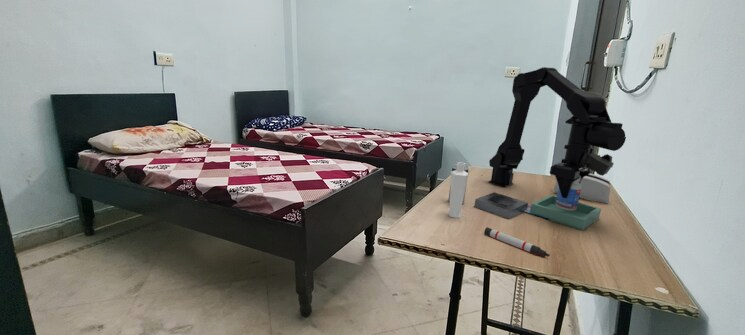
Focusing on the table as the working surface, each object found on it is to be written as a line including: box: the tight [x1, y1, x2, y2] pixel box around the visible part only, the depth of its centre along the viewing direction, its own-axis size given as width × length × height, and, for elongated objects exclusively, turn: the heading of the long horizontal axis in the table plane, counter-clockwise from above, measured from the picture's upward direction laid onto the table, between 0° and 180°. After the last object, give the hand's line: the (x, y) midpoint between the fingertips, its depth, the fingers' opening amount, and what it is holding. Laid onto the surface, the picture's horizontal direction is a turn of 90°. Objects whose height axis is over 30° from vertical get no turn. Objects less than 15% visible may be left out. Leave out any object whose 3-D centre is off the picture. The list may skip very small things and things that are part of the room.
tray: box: [530, 194, 602, 231], centre depth 100 cm, size 14×14×3 cm
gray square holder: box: [474, 191, 529, 220], centre depth 103 cm, size 11×11×2 cm
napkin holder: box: [552, 173, 611, 204], centre depth 117 cm, size 17×5×10 cm, turn 57°
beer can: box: [448, 162, 469, 204], centre depth 105 cm, size 5×5×12 cm
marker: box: [483, 227, 551, 258], centre depth 81 cm, size 15×2×2 cm, turn 43°
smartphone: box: [500, 204, 550, 221], centre depth 104 cm, size 8×1×15 cm
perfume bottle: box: [447, 161, 469, 219], centre depth 94 cm, size 5×4×15 cm
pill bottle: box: [556, 176, 581, 210], centre depth 99 cm, size 6×5×10 cm
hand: (568, 195), depth 99 cm, fingers closed on pill bottle, 5 cm apart
